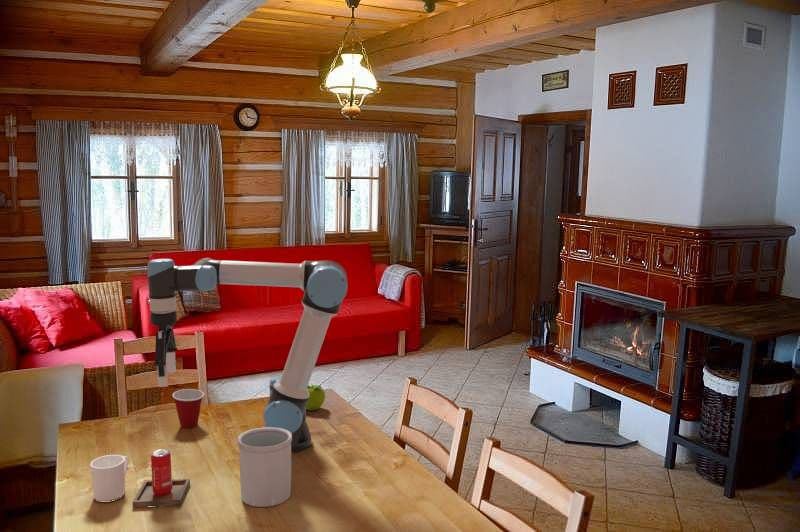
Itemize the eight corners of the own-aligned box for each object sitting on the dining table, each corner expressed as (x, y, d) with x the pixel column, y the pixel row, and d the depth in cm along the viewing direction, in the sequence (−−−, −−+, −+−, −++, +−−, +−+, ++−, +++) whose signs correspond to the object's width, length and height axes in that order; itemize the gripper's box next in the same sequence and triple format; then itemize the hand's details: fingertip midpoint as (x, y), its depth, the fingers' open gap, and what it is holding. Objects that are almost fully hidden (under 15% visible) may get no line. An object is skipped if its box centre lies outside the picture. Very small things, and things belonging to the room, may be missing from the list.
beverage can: (154, 499, 188) (152, 457, 186) (151, 491, 193) (149, 450, 191) (173, 494, 190) (172, 454, 189) (170, 487, 195) (168, 447, 193)
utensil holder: (246, 482, 200) (245, 425, 197) (297, 483, 199) (296, 426, 197) (233, 507, 185) (231, 446, 183) (287, 509, 185) (286, 447, 182)
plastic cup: (195, 433, 236) (194, 399, 234) (167, 429, 238) (166, 397, 237) (211, 421, 246) (210, 389, 244) (184, 418, 249) (183, 387, 247)
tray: (190, 484, 198) (189, 478, 198) (180, 506, 186) (180, 500, 186) (145, 486, 197) (145, 480, 197) (132, 508, 185) (132, 501, 184)
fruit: (315, 415, 253) (314, 389, 252) (295, 410, 258) (294, 385, 256) (329, 407, 261) (329, 382, 259) (310, 403, 266) (310, 378, 264)
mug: (105, 507, 185) (103, 471, 184) (85, 498, 190) (83, 463, 188) (139, 490, 194) (137, 456, 193) (120, 483, 199) (118, 449, 197)
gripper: (158, 302, 215) (162, 367, 219) (140, 320, 191) (145, 393, 194) (183, 301, 216) (186, 366, 220) (168, 319, 192) (172, 392, 195)
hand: (167, 379), depth 207 cm, fingers open, 13 cm apart
